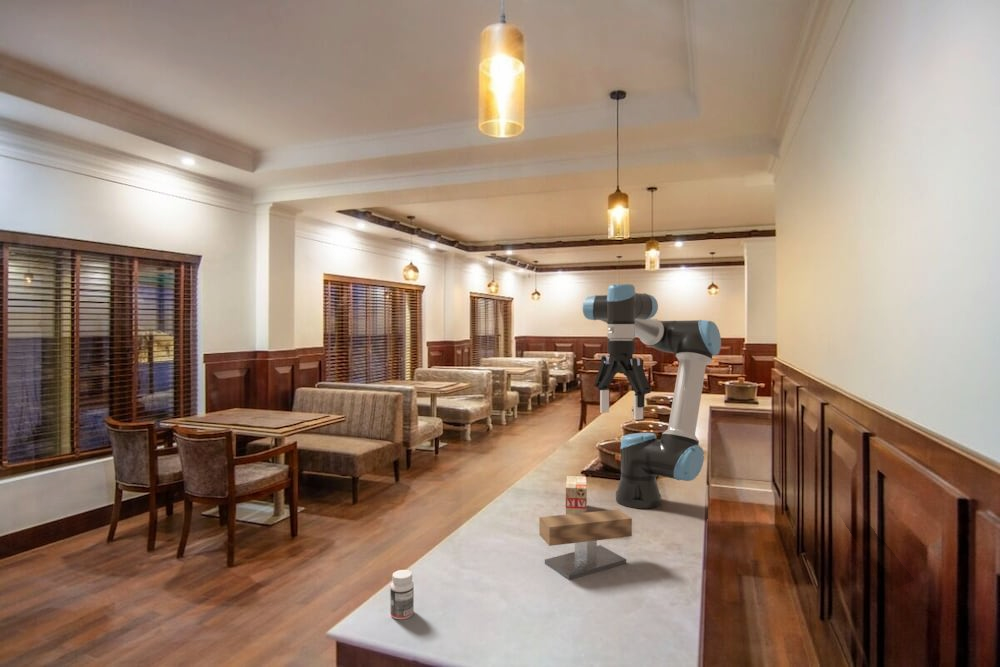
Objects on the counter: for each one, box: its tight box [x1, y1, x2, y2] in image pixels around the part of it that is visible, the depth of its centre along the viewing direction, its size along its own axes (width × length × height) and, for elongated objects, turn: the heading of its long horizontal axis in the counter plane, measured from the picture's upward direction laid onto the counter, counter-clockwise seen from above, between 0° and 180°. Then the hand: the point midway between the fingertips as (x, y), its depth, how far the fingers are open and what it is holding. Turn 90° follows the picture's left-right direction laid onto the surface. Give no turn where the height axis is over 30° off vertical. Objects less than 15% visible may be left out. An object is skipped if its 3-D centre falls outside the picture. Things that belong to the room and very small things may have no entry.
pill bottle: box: [389, 569, 415, 620], centre depth 109 cm, size 5×5×8 cm
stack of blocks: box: [565, 475, 588, 515], centre depth 167 cm, size 21×6×12 cm, turn 171°
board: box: [538, 508, 633, 547], centre depth 133 cm, size 22×7×4 cm, turn 106°
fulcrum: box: [544, 540, 627, 581], centre depth 133 cm, size 18×10×7 cm, turn 119°
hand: (620, 415), depth 148 cm, fingers open, 13 cm apart
